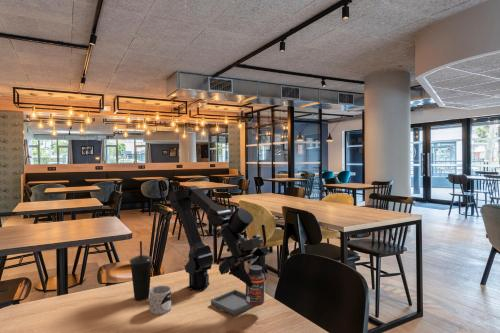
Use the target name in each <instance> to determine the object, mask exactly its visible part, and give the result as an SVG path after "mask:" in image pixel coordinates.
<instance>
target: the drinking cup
mask: <svg viewBox="0 0 500 333" xmlns="http://www.w3.org/2000/svg"><path fill="white" fill-rule="evenodd" d="M152 261H153V257H152V256H149V255H145V254H143V241H142V240H139V255H137V256H134V257H132V258H130V259H129V263H130V270H131V281H132V287H133V298H134V300H135V301H138V302H141V301H142V302H143V301H145V300H148V299H150V289H151V288H150V286H151V275H152V263H153V262H152Z"/></svg>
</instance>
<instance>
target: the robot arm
mask: <svg viewBox="0 0 500 333" xmlns="http://www.w3.org/2000/svg"><path fill="white" fill-rule="evenodd" d="M168 201H169V204H170V206H171V207H172V209H173V210H174V211H176V212H177V213H178V215H179V218H180V221H181V224H182V227H183V230H184V233H185V236H186V239H187V242H188V246H189V251H188V254H187V255H188V256H187V258H188V262H187V263H185V266H184V270H185V273H187V274H188V283H189V284H188V286H187V287H186V289H188V290H193V291H194V290H195V291H201V292H202V291H204V290H205V289H206V288H207V287H208V286H209V285H210V278H209V276H210V275H209V274H208V272H209V270H211V269H212V265H213V263H214V257H213V256H214V255H213V252H212V249H211V246H210V244H207V245H206V244H205V243H204V242H203V240H202V237H201V235H200V231H199V228H198V226H197V223H196V220H195V217H194V214H193V211H192V204H193V203H194V204H195V205H196V206H197V207H198V208H200V210H201V211H202V212H204V213H205V215H206V220H207V221H208V222H209V223H210V225H211V226H212V227H213V228H218V227H222V228H220V229H218V230H217V234H216V238H222V239H223V241H224V243H225V245H226V246H227V248H226V251H227V253H230V254H231V256H229V257H226V258H225V259H224V260H222V261H221V263H219V265H218V271H219V273H220V275H221V276H222V275H223V276H224V275H226V274H227V273H228V275H231V276H234V277H235V278H237V279H239V280H240V281H241V282H243V284H245V285H246V284H247V285H248V286H250V287H252V286H253V284H252V282H251V280H250V278H249V276H248V272H247V270H246V268H245V267H246V265H245V263H246V262H247V263H248V262H249V261H251V264H250V266H253V265H258V266H261V267H262V273H263V274H264V276H265V281H266V280H267V276H266V272H265V266H264V258H266V256H267V255H268V254H269V253H270V250H269V248H268V246H265V245H263V246H262V244H263V242H264V241H263V240H264V239H263V237H262V236H261V234H260V233H257V234H254V235H252V238H250V239H248V238H247V237H243V236H242V235H241V234H242V233H244V232H245V231H246V230H247V228H249V226H250V225H251V224H252V223H253V221H254V216H253V214H252V213H251V212H249V211H248V210H247V209H244V208H243V207H242V206H238V207H236V208H235V210H234V212H232V211H231V210H230V209H229V208H228V207H226V206H224V205H221V204H218V203H215V202H214V201H213V200H212V199H211V198H210V197H209V196H208V195H207V194H205V193H204V192H203V191H202V190H200V186H197V185H190V186H186V187H184V188H182V189H176V190H175V189H174V190H171V191H170V193H169V195H168ZM250 266H249V267H250Z"/></svg>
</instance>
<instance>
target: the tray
mask: <svg viewBox="0 0 500 333" xmlns="http://www.w3.org/2000/svg"><path fill="white" fill-rule="evenodd" d="M210 305H211V306H212V307H214V308H217V309H218V310H220V311H222V312H224V313H226V314H227V315H230V316H232V317H233V318H234V317H237V316H238V315H241V314H243V313H244V312H246V311H249V310H250V309H252V308H254V307H255V306H251V305H249V304H247V303H246V292H244V291H243V292H242V291H241V290H238V289H236V288H235V289H232V290H229V291H227V292H226V293H224V294H221V295H219V296H216V297H214V298H211V299H210Z"/></svg>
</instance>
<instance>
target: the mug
mask: <svg viewBox="0 0 500 333" xmlns="http://www.w3.org/2000/svg"><path fill="white" fill-rule="evenodd" d="M171 310H172V287H171V285H157V286H154V287H151V288H150V290H149V312H150V314H151V315H153V316H162V315H165V314H168V313H169V312H170V311H171Z"/></svg>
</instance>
